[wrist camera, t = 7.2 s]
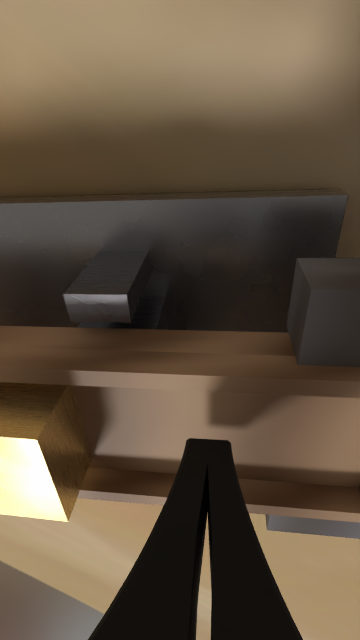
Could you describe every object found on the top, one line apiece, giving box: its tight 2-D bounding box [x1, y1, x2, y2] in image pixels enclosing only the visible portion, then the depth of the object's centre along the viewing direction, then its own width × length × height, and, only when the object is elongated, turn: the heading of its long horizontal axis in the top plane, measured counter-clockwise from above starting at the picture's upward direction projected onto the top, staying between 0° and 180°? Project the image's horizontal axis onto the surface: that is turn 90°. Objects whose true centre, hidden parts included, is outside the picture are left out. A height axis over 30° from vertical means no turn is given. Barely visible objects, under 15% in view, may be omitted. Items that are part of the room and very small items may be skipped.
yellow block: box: [0, 382, 92, 522], centre depth 12 cm, size 5×4×2 cm
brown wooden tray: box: [0, 258, 360, 539], centre depth 13 cm, size 20×12×3 cm, turn 93°
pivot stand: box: [0, 189, 348, 333], centre depth 15 cm, size 16×14×5 cm
